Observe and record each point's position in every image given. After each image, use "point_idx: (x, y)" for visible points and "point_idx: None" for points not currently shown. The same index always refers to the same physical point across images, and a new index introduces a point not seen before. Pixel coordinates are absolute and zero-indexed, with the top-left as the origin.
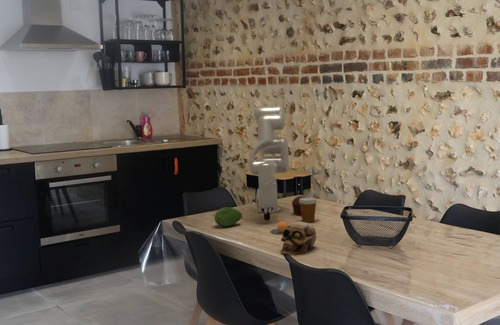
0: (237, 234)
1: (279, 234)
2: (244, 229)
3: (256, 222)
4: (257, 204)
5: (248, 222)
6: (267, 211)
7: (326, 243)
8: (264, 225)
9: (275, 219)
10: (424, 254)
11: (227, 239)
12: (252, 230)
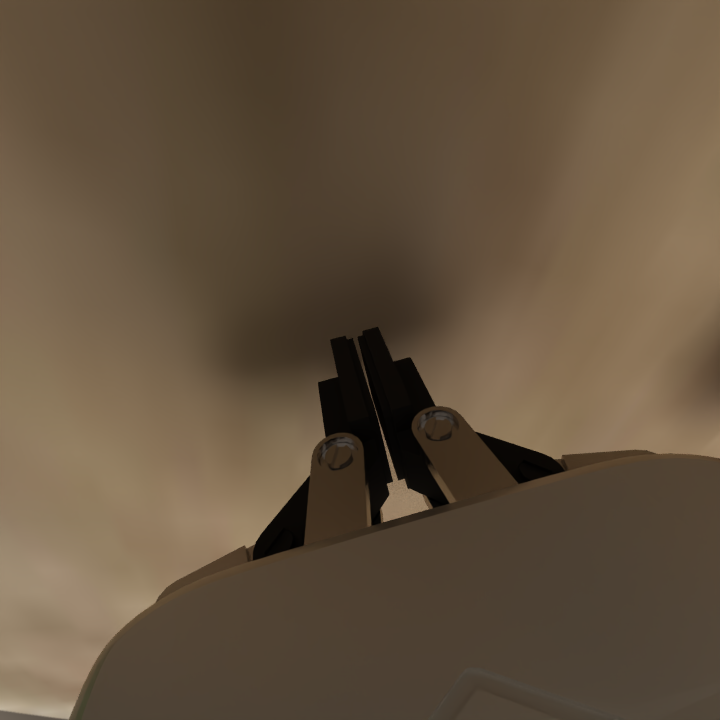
0: (62, 645)
1: None
2: (82, 551)
3: (184, 267)
4: (111, 700)
5: (11, 232)
6: (414, 466)
7: None
8: (305, 438)
9: (548, 109)
10: None
11: (26, 707)
12: (180, 571)
